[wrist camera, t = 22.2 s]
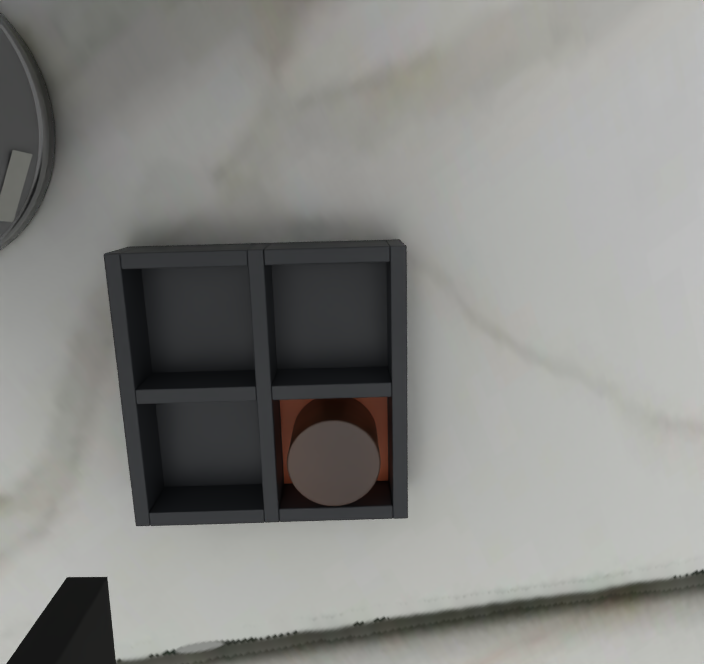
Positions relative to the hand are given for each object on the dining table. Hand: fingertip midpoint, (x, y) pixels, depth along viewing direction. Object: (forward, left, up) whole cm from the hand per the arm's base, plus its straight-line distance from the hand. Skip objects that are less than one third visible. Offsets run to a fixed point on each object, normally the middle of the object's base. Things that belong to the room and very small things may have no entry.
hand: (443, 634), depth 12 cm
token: (-3, -5, -23) cm, 23 cm away
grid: (-6, -2, -23) cm, 24 cm away
